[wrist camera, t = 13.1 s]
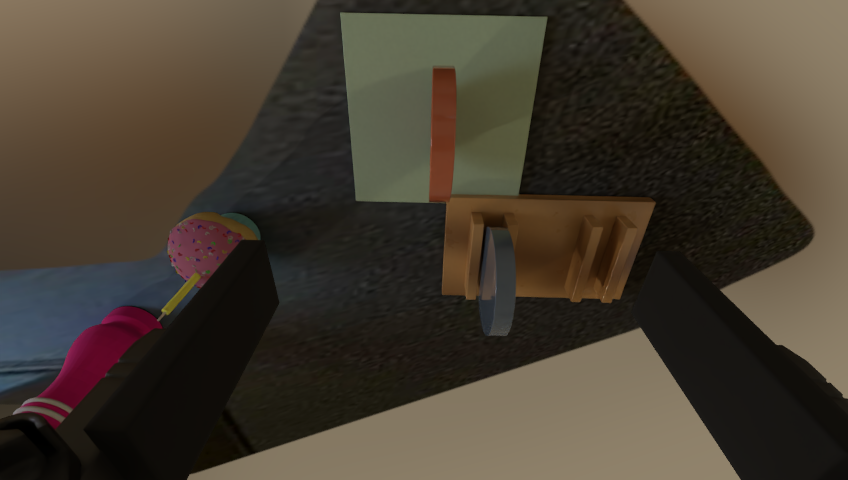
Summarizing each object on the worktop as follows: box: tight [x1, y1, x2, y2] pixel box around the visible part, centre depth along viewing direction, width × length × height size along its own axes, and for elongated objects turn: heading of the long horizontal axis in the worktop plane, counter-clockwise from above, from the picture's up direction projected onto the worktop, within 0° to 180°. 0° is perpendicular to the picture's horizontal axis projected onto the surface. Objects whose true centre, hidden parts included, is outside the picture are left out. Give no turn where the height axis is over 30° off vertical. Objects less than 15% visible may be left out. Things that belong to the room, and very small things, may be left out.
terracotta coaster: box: [429, 65, 457, 203], centre depth 28 cm, size 10×2×10 cm, turn 179°
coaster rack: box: [442, 194, 656, 303], centre depth 38 cm, size 12×20×4 cm, turn 89°
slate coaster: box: [478, 226, 516, 336], centre depth 34 cm, size 10×2×10 cm, turn 179°
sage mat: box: [340, 13, 547, 203], centre depth 33 cm, size 16×16×1 cm
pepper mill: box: [13, 306, 162, 429], centre depth 38 cm, size 7×7×20 cm
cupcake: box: [157, 212, 261, 321], centre depth 34 cm, size 9×8×12 cm
